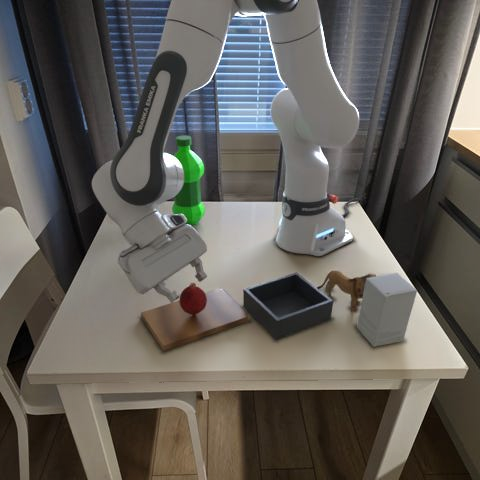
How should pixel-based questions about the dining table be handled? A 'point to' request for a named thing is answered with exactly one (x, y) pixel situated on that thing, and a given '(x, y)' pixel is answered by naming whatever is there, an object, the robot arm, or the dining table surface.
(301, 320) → the tub
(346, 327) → the dining table surface
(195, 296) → the red pomegranate
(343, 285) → the lion figurine
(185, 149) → the plastic bottle
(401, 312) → the white packaging box
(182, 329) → the cutting board
